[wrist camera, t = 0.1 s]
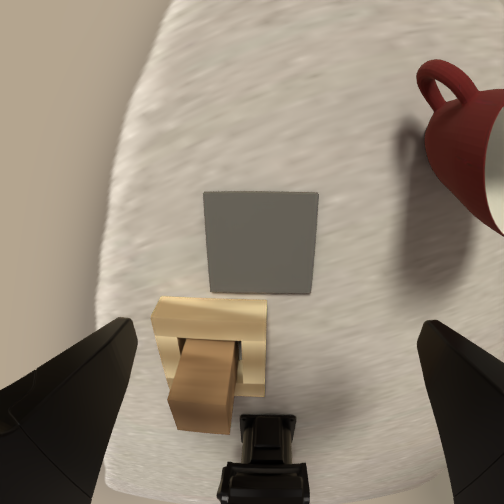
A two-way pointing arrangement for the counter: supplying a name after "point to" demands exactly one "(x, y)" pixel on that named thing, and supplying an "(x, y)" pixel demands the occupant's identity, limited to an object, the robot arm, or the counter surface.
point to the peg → (205, 386)
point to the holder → (214, 334)
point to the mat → (260, 240)
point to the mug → (466, 140)
